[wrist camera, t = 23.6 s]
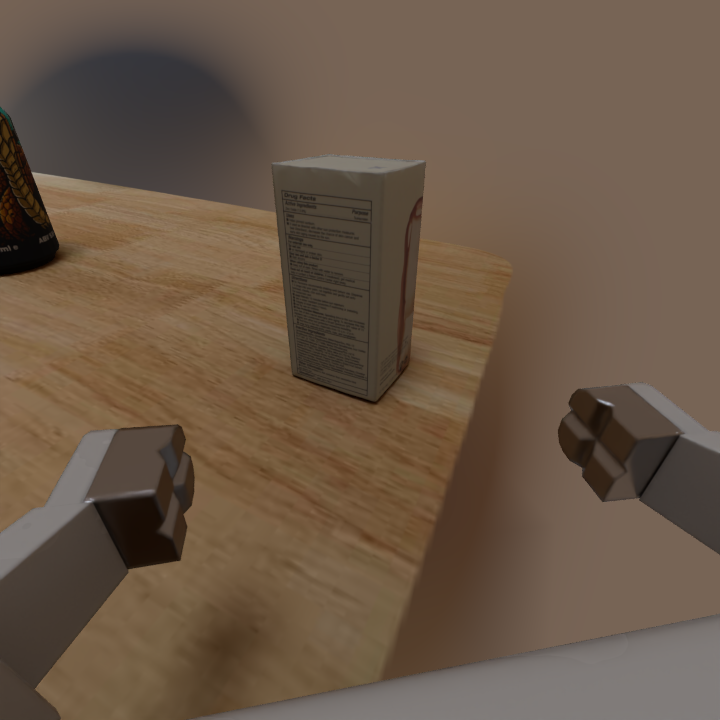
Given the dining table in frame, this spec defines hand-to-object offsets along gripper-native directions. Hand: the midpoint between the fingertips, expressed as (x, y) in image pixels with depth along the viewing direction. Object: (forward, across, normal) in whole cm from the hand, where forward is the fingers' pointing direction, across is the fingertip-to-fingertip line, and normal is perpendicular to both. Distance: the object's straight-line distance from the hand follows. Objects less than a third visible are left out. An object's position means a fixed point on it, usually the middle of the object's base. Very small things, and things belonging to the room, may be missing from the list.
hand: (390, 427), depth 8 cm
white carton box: (+12, -1, +7) cm, 13 cm away
